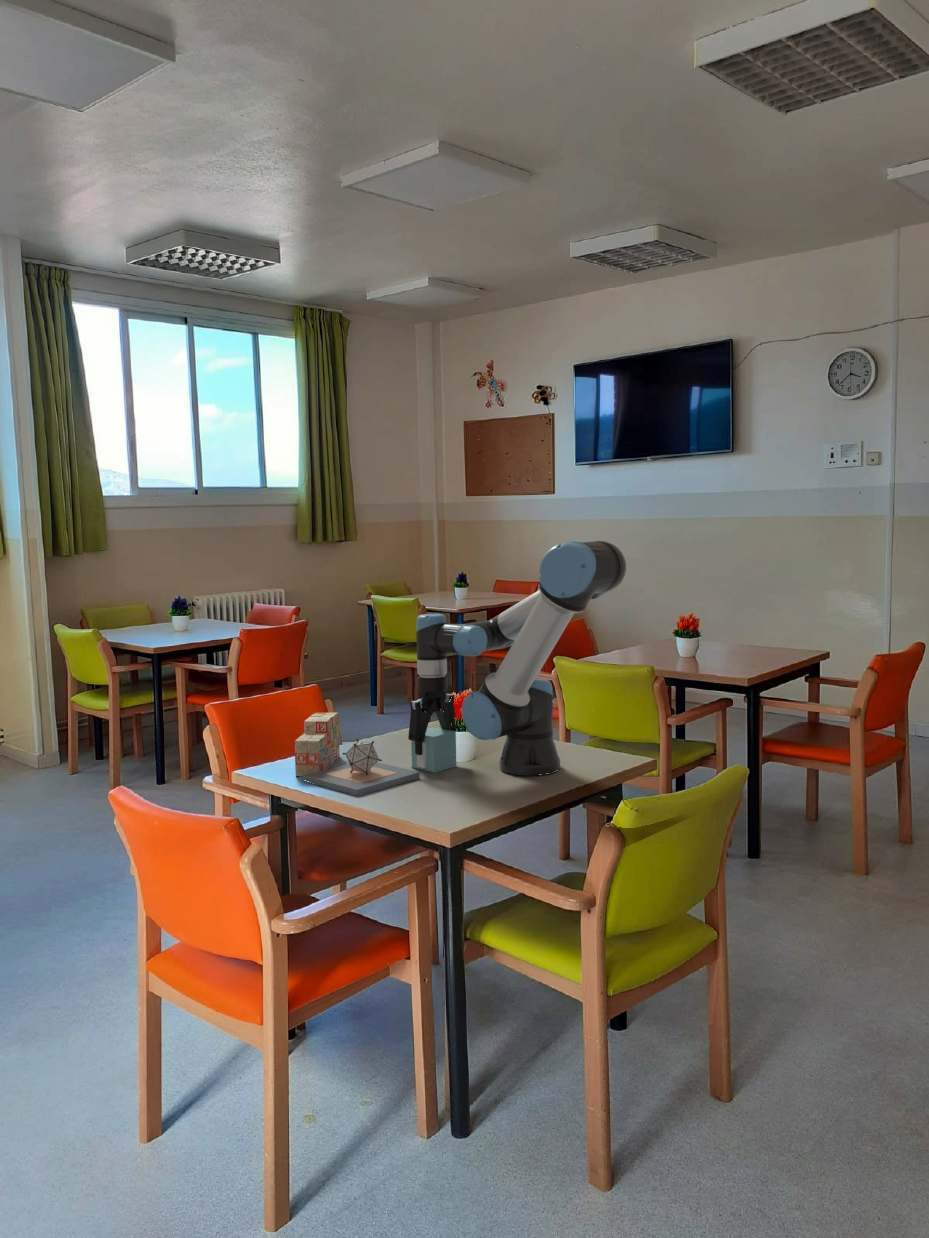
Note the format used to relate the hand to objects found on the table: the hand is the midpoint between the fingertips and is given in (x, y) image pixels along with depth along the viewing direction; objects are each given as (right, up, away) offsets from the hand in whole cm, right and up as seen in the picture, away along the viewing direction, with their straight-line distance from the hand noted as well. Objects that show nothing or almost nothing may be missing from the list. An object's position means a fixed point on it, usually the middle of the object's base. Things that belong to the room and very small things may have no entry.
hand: (434, 763), depth 244 cm
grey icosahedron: (-17, -1, -11) cm, 20 cm away
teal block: (0, -1, 0) cm, 1 cm away
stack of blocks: (-30, -1, +3) cm, 30 cm away
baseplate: (-17, -2, -11) cm, 21 cm away
